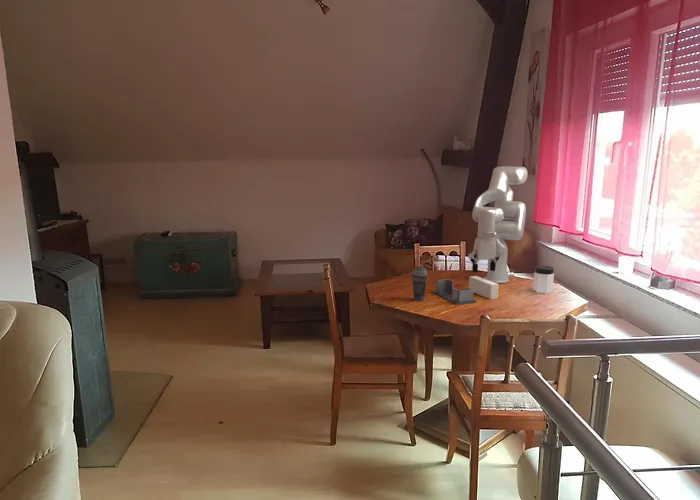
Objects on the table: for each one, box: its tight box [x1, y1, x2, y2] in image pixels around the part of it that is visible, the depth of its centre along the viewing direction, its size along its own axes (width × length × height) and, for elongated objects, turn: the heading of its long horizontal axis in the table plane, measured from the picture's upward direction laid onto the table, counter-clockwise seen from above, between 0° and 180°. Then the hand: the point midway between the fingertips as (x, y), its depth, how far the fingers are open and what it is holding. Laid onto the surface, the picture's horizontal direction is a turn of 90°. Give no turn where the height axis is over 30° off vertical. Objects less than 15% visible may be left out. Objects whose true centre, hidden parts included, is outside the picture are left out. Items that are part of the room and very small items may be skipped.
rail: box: [468, 275, 500, 300], centre depth 250 cm, size 4×17×7 cm, turn 23°
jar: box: [532, 265, 555, 295], centre depth 254 cm, size 9×8×12 cm
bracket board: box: [432, 278, 477, 306], centre depth 245 cm, size 10×22×6 cm, turn 20°
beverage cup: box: [411, 256, 428, 302], centre depth 239 cm, size 7×7×20 cm
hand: (483, 271), depth 248 cm, fingers open, 9 cm apart
